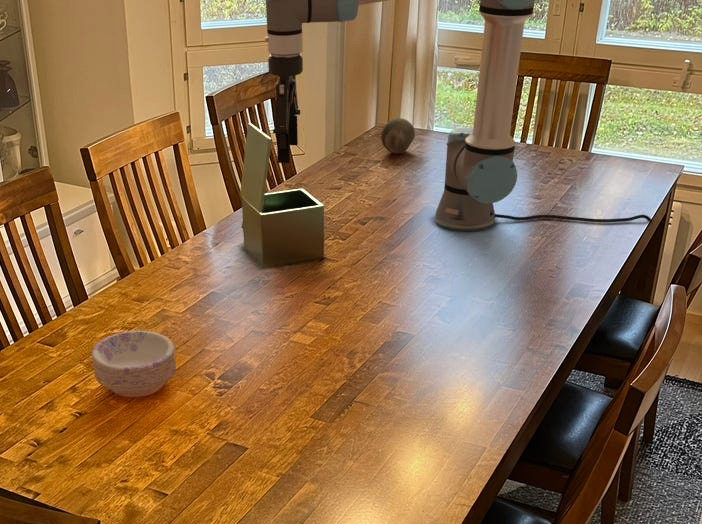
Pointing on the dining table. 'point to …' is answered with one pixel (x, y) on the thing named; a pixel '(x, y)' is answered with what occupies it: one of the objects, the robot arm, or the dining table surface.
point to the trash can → (284, 229)
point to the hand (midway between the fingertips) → (287, 153)
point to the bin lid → (255, 167)
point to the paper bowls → (134, 362)
